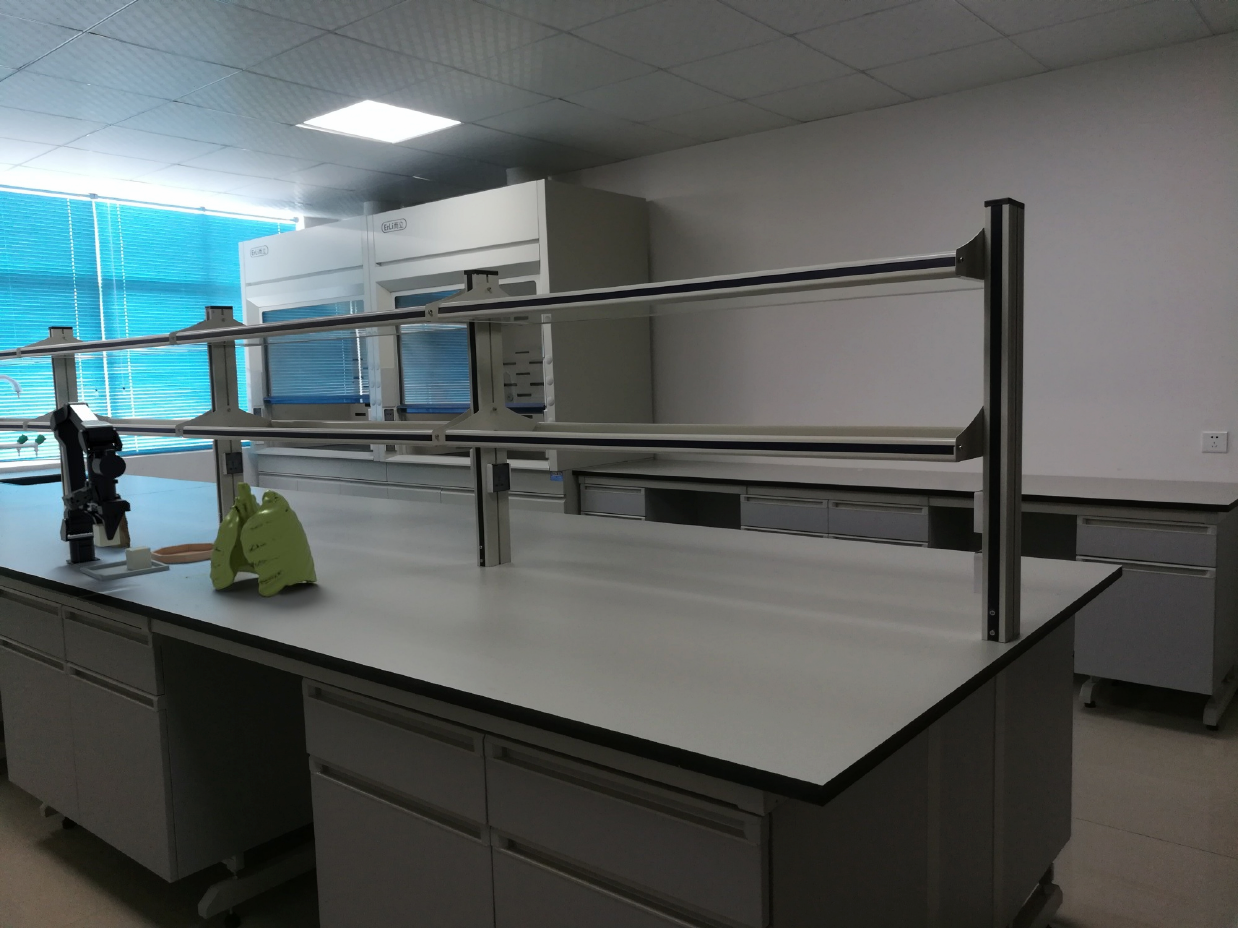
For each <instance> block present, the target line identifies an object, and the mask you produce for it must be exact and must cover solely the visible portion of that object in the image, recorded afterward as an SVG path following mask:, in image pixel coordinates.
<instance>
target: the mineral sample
mask: <svg viewBox="0 0 1238 928" xmlns="http://www.w3.org/2000/svg"><path fill="white" fill-rule="evenodd" d="M117 496H119V497H120V499H122V497H121V494H120V493H117ZM127 518H128V517H127V514H126V513H125V514H124V515H123V517H122V519H121V522H120V524H119V534H120V544H117V545H111V546H110V547H112V548H114V549H120V548H121V549H122V548H128V547H129V548H131V535H130V531H129V522H128V519H127Z"/></svg>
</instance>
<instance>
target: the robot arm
mask: <svg viewBox="0 0 1238 928" xmlns="http://www.w3.org/2000/svg"><path fill="white" fill-rule="evenodd" d="M49 425H50V430H51V431H52V432H53V437H54V439H55V440H56V441H57V443H59V444H60V445H61V447H62V451H63V453H62V454H63V460H64V470H65V479H66V485H67V494H65V495H63V496H61V499H62V501H63V503H64V505H65V509H64V510H63V519H62V520H61V525H60V529H59V530H60V531H59V534H60V541H63V542H64V543H68V546H69V557H70V559H66V560H65V562H66V563H68V564H70V565H78V564H83V563H91V562H96V561H101V558H100V557H96V548H95V546H96V545H95V543H94V532H93V525H95V524H103V525H104V529H105V533H106V536H107V540H113V538H114V536H115V533H116V531H117V528H118V526H119V524H120V522H121V519H122V517H123V515H124V514H126V513H128V512H132V509H131V503H130V502H129V501H127V500H126V499H123V498H121V499H120V497H119V496H117V494H118V492H117V484H119V479H118V478H120V477H122V475H124V474H125V472H126V470H127V464H126V461H125V459H124V458H123V457H122V456H121V455H119V454H118V455H117V453H118V452H123V447H124V444H123V441H122V440H121V437H120V434H119V432H118V431H117V429H116V428H115V427H114V425H113V424H112V423H110V422H108V421H104V420H99V418H98V417H97V416H96V414H94V412H92V410H91V409H90V407H89V404H88V402H85V401H70V402H69V401H67V402H66V403H64V404H63V406H62V407H60V408H58V409H56V410H54V411H53V412H52V414H51V415H50V418H49ZM85 455H86V458H85ZM85 459H86V461H85ZM85 462H86V463H85ZM86 471H87V472H86Z"/></svg>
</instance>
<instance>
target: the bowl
mask: <svg viewBox="0 0 1238 928" xmlns="http://www.w3.org/2000/svg"><path fill="white" fill-rule="evenodd" d="M213 546H214V542H195V543H193V542H192V543H191V542H190V543H188V542H187V543H181V544H176V545H168V546H162V547H160V548H157V549H155V550H151V559H152V560H155V561H158V562H161V563H164V564H181V563H182V564H183V563H191V562H200V561H206V560H209V559H210V556H211V554H212V550H213ZM210 560H211V559H210Z"/></svg>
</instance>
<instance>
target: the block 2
mask: <svg viewBox="0 0 1238 928" xmlns="http://www.w3.org/2000/svg"><path fill="white" fill-rule="evenodd" d="M124 550H125V558H126V559H125V560H126V563H127V569H130V570H133V571H134V570H140V569H146V568H152V562H151V552H152V550H151V547H149V546H148V547H147V546H145V545H141V546H135V547H129V548H128V547H126V548H124Z"/></svg>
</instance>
